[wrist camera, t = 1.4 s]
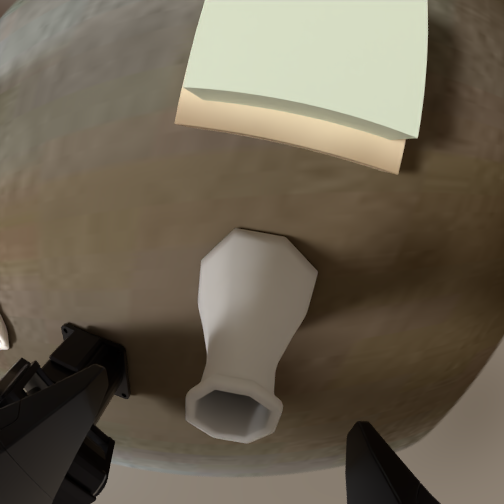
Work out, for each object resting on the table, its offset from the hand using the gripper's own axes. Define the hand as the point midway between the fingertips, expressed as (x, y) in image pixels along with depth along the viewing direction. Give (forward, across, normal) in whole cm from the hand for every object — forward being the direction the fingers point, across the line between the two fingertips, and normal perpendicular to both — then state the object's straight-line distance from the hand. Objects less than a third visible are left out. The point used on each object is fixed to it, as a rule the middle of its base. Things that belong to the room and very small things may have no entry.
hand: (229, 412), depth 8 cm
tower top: (+7, 0, -14) cm, 16 cm away
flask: (+10, 0, 0) cm, 10 cm away
